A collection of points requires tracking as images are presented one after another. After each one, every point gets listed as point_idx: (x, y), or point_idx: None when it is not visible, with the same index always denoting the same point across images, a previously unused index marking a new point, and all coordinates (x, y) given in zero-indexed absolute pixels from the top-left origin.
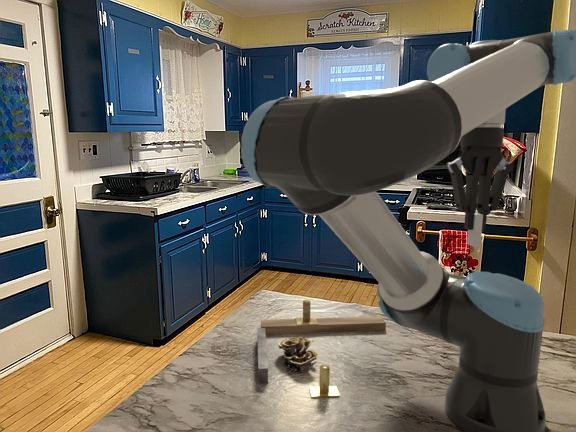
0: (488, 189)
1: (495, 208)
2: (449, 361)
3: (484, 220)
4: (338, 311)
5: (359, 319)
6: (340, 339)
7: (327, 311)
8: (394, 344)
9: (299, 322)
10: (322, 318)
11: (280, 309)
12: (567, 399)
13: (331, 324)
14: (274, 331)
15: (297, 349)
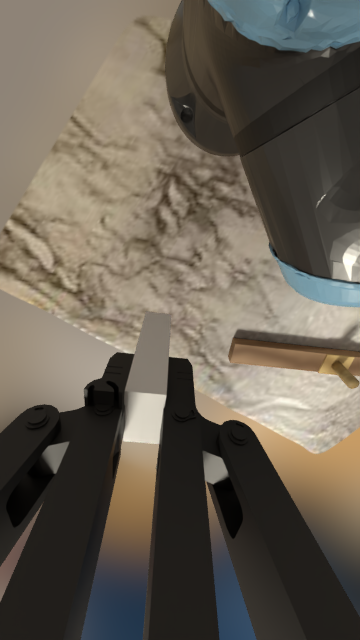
0: (22, 601)
1: (34, 413)
2: (198, 242)
3: (111, 378)
4: (261, 394)
5: (264, 358)
6: (303, 326)
7: (275, 397)
8: (243, 301)
9: (348, 362)
10: (309, 369)
11: (328, 410)
12: (91, 94)
13: (309, 352)
14: None
15: None
